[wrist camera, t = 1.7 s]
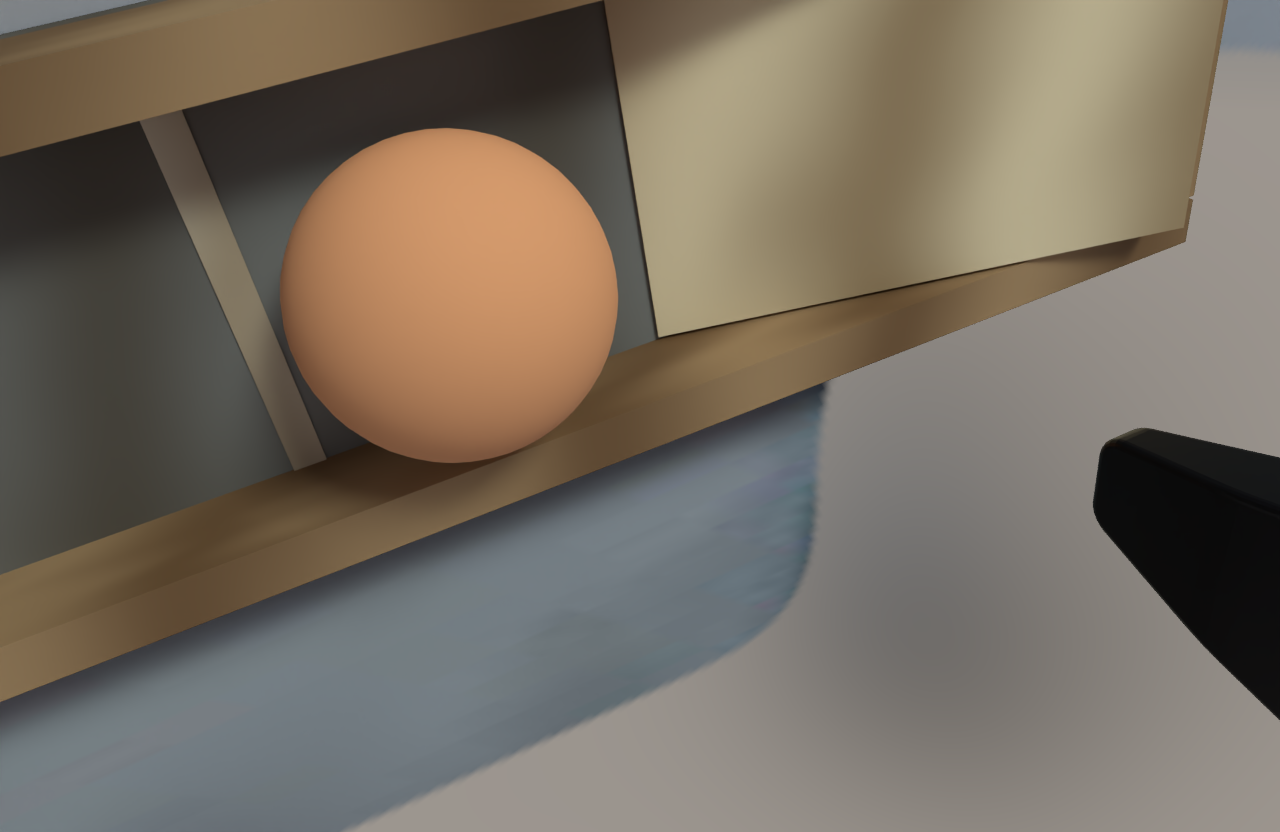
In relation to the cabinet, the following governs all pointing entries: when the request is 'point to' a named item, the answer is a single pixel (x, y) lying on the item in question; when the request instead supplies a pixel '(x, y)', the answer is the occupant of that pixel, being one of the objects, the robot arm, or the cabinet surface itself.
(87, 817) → the cabinet surface
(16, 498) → the wooden tray
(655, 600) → the cabinet surface
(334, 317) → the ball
